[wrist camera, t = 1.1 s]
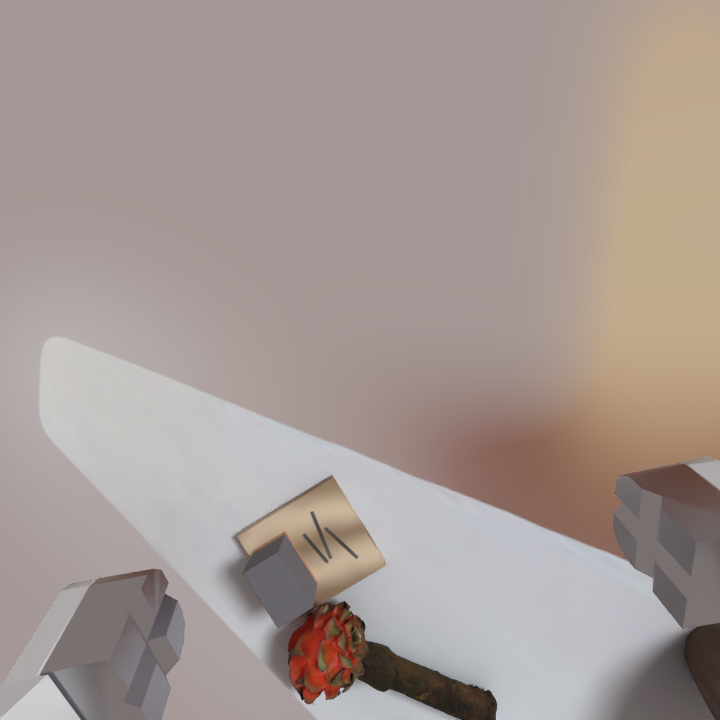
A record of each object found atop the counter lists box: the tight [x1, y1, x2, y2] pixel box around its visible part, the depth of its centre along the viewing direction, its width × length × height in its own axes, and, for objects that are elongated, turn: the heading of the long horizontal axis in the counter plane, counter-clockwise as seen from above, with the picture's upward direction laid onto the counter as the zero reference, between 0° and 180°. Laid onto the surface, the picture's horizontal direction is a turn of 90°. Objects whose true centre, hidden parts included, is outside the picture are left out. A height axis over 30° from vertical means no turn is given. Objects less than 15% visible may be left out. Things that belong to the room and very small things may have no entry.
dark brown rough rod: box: [357, 641, 497, 720], centre depth 52 cm, size 19×4×5 cm, turn 63°
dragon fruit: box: [288, 601, 369, 705], centre depth 50 cm, size 8×8×12 cm
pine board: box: [237, 475, 386, 622], centre depth 53 cm, size 12×13×2 cm
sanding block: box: [243, 531, 318, 628], centre depth 49 cm, size 7×4×5 cm, turn 32°
